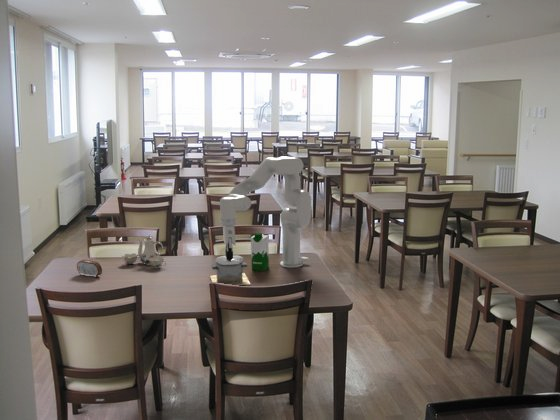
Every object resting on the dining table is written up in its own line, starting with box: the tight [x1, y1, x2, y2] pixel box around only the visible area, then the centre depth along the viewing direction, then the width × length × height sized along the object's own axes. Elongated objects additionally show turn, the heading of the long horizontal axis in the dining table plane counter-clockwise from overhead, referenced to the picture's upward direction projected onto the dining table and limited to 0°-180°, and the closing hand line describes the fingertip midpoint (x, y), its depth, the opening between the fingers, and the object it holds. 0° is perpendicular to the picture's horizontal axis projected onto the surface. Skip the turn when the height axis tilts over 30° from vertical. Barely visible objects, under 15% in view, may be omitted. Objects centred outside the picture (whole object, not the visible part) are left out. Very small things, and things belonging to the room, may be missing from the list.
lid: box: [215, 248, 245, 265], centre depth 290 cm, size 14×14×6 cm
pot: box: [209, 261, 251, 286], centre depth 291 cm, size 18×18×10 cm
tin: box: [76, 259, 103, 277], centre depth 302 cm, size 15×3×8 cm, turn 65°
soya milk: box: [250, 232, 270, 272], centre depth 311 cm, size 9×9×20 cm
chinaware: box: [121, 234, 167, 269], centre depth 322 cm, size 28×17×17 cm, turn 72°
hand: (229, 257), depth 290 cm, fingers closed on lid, 3 cm apart
